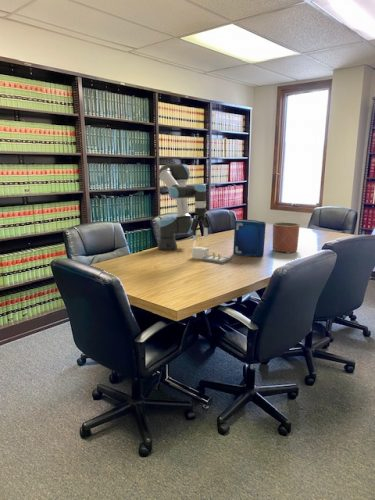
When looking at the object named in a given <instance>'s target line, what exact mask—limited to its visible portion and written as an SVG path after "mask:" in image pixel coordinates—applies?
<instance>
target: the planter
mask: <svg viewBox="0 0 375 500" xmlns="http://www.w3.org/2000/svg"><path fill="white" fill-rule="evenodd" d="M299 235H300V223H297V222H289V221H282V222H281V221H279V222H273V223H272V251H277V252H283V253H286V254H290V253H294V252H296V251H297V250H298V244H299Z"/></svg>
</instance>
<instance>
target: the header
mask: <svg viewBox="0 0 375 500" xmlns="http://www.w3.org/2000/svg"><path fill="white" fill-rule="evenodd" d="M201 261H203V262H206V263H207V262H208V263H214V264H220V265H224V264H227V263H228V262H230V261H232V257H227V256H222V255H221V252H220V253H218V255H216V252H212V254H210V255H208V256H207V257H205V258H202V259H201Z"/></svg>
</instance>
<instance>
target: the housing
mask: <svg viewBox="0 0 375 500" xmlns="http://www.w3.org/2000/svg"><path fill="white" fill-rule="evenodd" d="M191 252H192V253H191V254H192V255H191V258H192V259H197V260H198V259H199V260H202V258H205V257H207V256H209V247H205V246H204V247H203V246H194V247H192V249H191Z"/></svg>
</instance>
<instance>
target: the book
mask: <svg viewBox="0 0 375 500" xmlns="http://www.w3.org/2000/svg"><path fill="white" fill-rule="evenodd" d="M266 227H267V225H266V222H265V221H259V220H254V219H235V220H234V229H233V231H234V234H233V251H232V254H233V255H236V256H240V257H241V256H242V257H261V258H262V257H263V256H264V253H265V252H264V251H265V242H266V241H265V237H266Z"/></svg>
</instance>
